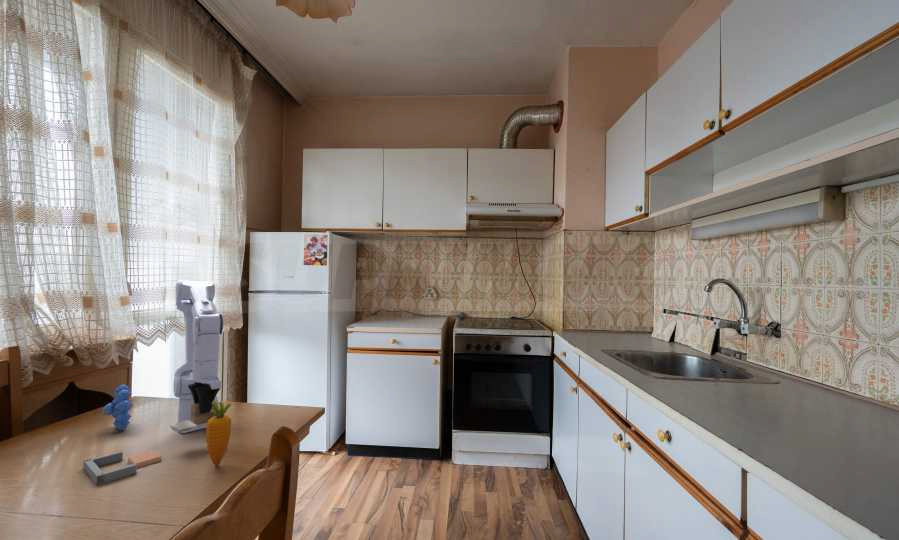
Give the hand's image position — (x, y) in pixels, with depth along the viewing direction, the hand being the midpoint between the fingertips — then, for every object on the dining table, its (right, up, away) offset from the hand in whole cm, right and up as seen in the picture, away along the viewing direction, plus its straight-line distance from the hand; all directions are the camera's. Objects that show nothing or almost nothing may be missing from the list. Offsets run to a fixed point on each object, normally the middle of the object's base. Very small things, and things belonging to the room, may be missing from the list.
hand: (202, 411), depth 101 cm
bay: (-10, -8, -15) cm, 20 cm away
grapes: (-30, -8, +8) cm, 32 cm away
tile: (-7, -8, -11) cm, 15 cm away
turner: (-1, -3, -2) cm, 3 cm away
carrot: (+11, -9, -12) cm, 18 cm away
